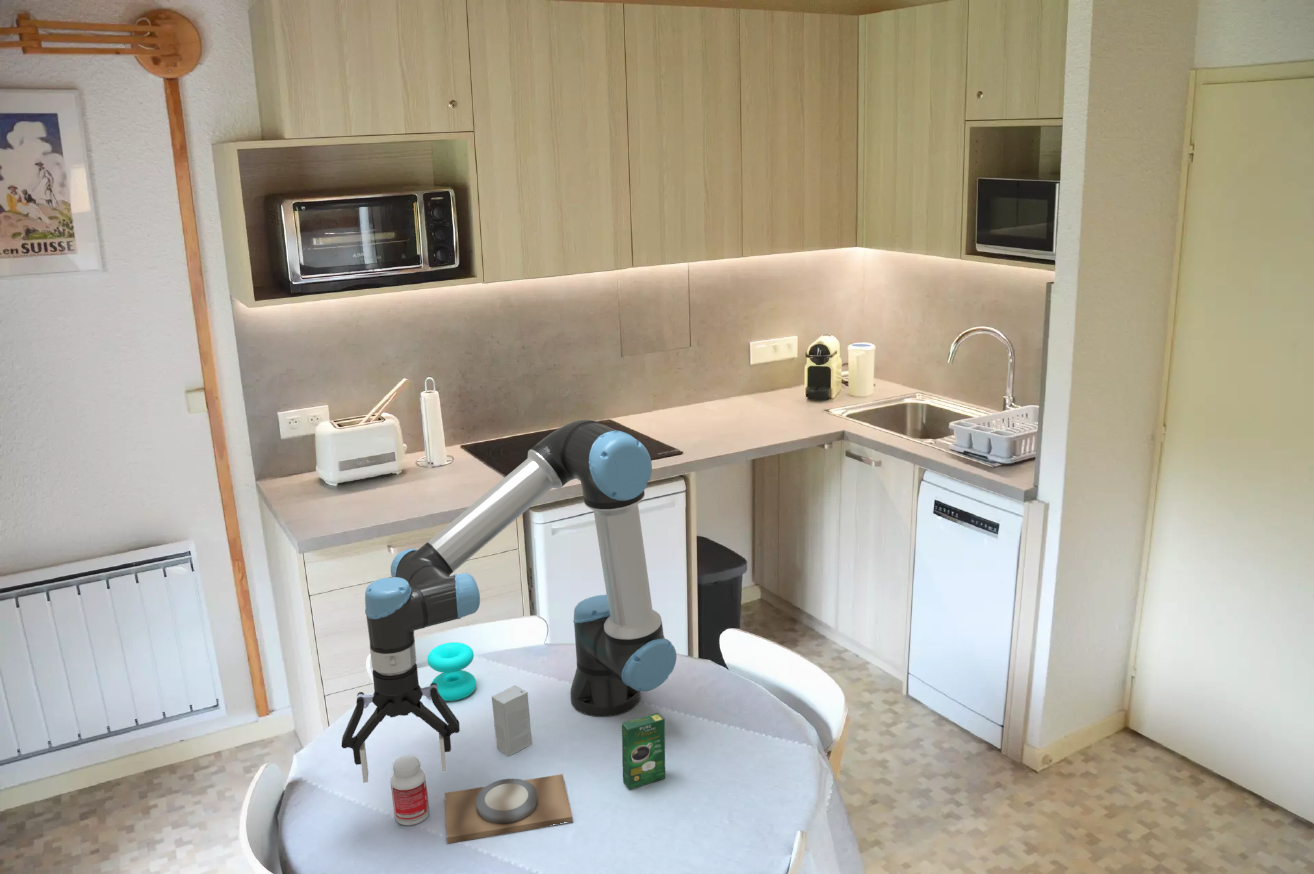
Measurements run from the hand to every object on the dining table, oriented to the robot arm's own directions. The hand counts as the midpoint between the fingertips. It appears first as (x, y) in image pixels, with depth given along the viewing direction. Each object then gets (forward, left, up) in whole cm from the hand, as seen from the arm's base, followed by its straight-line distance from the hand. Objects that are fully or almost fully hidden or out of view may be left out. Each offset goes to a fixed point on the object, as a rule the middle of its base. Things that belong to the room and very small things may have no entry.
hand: (405, 772), depth 185 cm
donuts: (-9, -42, -9) cm, 44 cm away
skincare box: (-20, -17, -9) cm, 28 cm away
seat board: (-17, +3, -9) cm, 20 cm away
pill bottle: (0, 0, -9) cm, 9 cm away
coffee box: (-43, +1, -9) cm, 44 cm away
